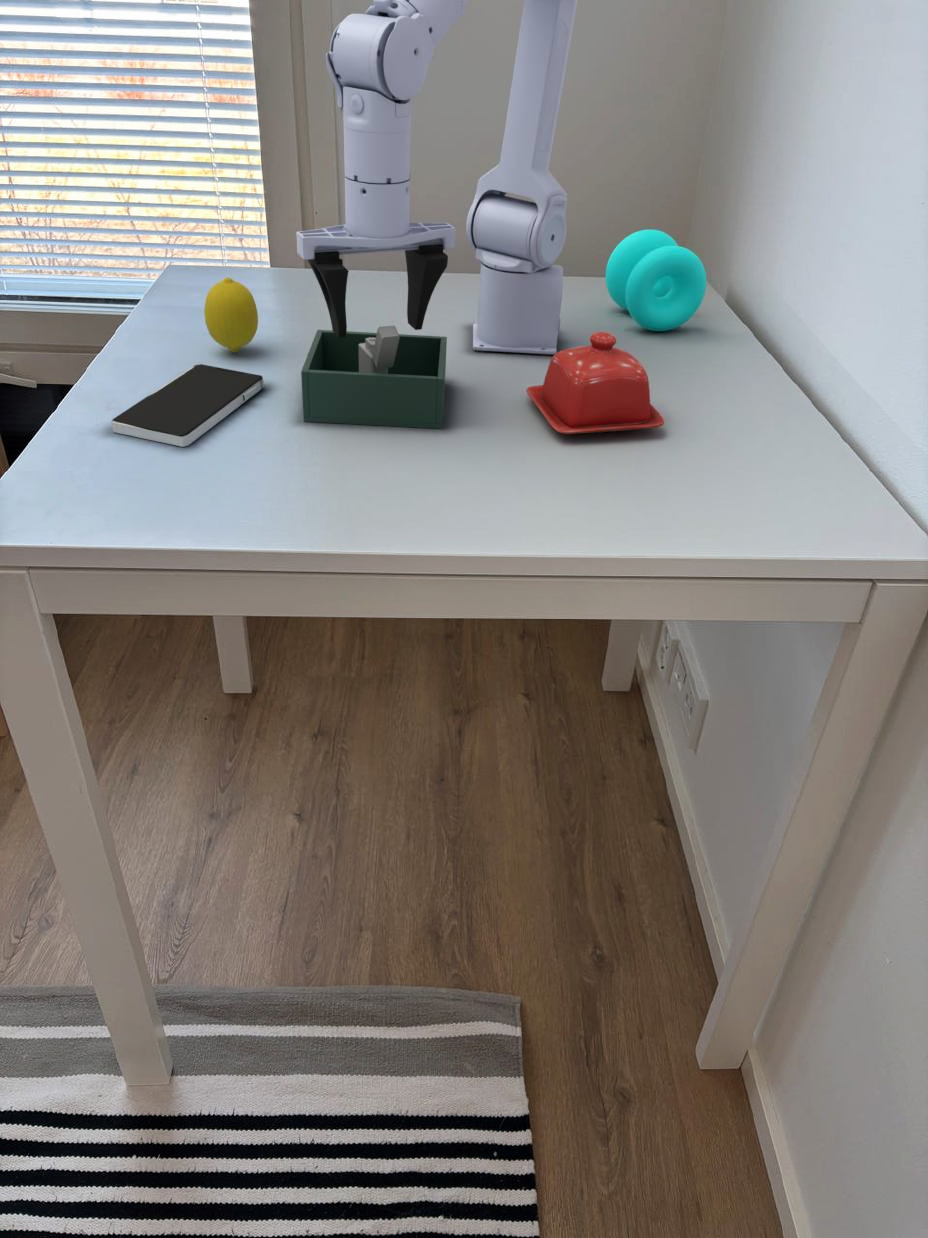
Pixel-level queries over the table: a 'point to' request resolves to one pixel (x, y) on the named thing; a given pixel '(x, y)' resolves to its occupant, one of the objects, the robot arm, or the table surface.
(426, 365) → the bin
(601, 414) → the butter dish
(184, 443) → the smartphone
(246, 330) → the lemon
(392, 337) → the grey stepped block
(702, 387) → the table surface
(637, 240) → the turquoise yoyo
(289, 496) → the table surface
